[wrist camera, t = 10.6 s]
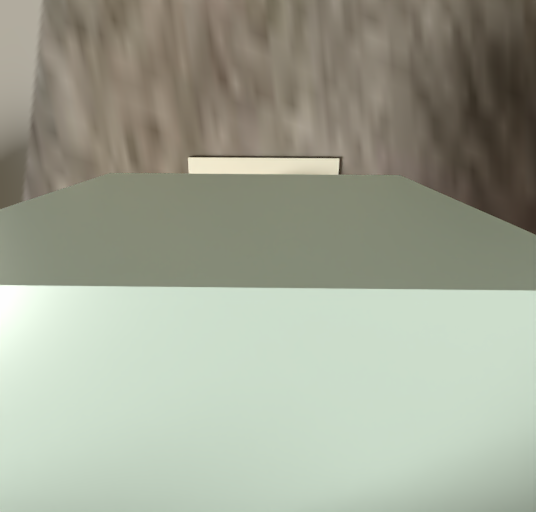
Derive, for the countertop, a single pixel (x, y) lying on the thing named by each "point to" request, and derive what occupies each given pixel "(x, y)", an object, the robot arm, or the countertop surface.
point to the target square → (263, 165)
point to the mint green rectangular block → (265, 348)
